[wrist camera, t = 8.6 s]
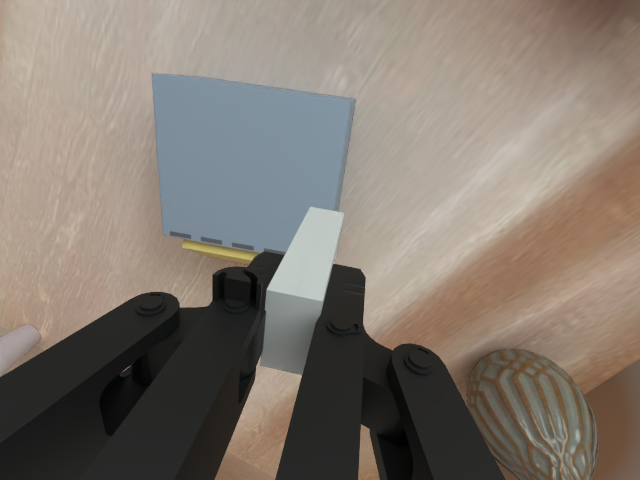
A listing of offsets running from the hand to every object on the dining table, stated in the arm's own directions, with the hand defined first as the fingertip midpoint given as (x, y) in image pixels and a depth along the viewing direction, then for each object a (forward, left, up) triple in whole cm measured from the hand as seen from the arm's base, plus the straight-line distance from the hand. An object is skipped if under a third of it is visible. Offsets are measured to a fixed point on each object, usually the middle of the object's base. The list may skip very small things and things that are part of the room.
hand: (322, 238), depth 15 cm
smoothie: (+40, -51, -27) cm, 70 cm away
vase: (+27, +26, -27) cm, 46 cm away
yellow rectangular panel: (+14, -10, -23) cm, 28 cm away
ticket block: (+3, -10, -27) cm, 28 cm away
